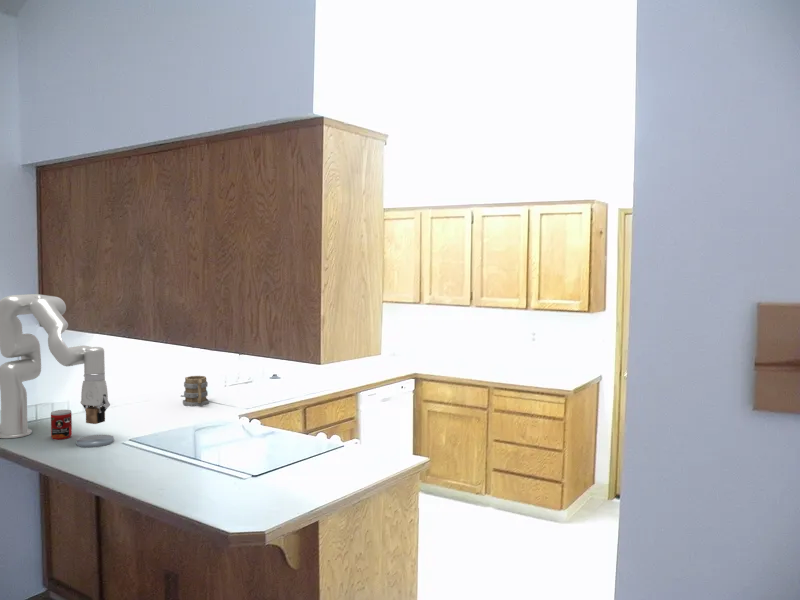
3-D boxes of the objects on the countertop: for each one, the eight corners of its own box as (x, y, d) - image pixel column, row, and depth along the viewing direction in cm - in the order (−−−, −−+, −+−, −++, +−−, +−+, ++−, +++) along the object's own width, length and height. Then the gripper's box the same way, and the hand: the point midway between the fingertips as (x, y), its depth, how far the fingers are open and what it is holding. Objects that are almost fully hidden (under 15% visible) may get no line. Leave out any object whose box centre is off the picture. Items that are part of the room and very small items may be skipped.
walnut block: (86, 422, 262) (85, 408, 262) (95, 420, 267) (95, 405, 267) (95, 424, 261) (95, 409, 260) (105, 421, 265) (104, 406, 265)
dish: (68, 445, 260) (68, 441, 260) (95, 436, 273) (95, 433, 273) (94, 449, 255) (94, 445, 255) (121, 440, 268) (121, 436, 268)
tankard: (181, 402, 342) (181, 374, 341) (206, 400, 347) (206, 372, 346) (186, 410, 324) (186, 380, 323) (212, 408, 329) (212, 379, 328)
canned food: (49, 440, 267) (48, 414, 266) (53, 435, 274) (53, 409, 274) (69, 439, 269) (69, 413, 268) (73, 434, 276) (73, 409, 276)
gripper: (71, 377, 262) (72, 421, 263) (103, 380, 256) (104, 425, 257) (86, 374, 269) (87, 417, 270) (118, 377, 263) (118, 421, 264)
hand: (95, 420), depth 264 cm, fingers closed on walnut block, 5 cm apart
